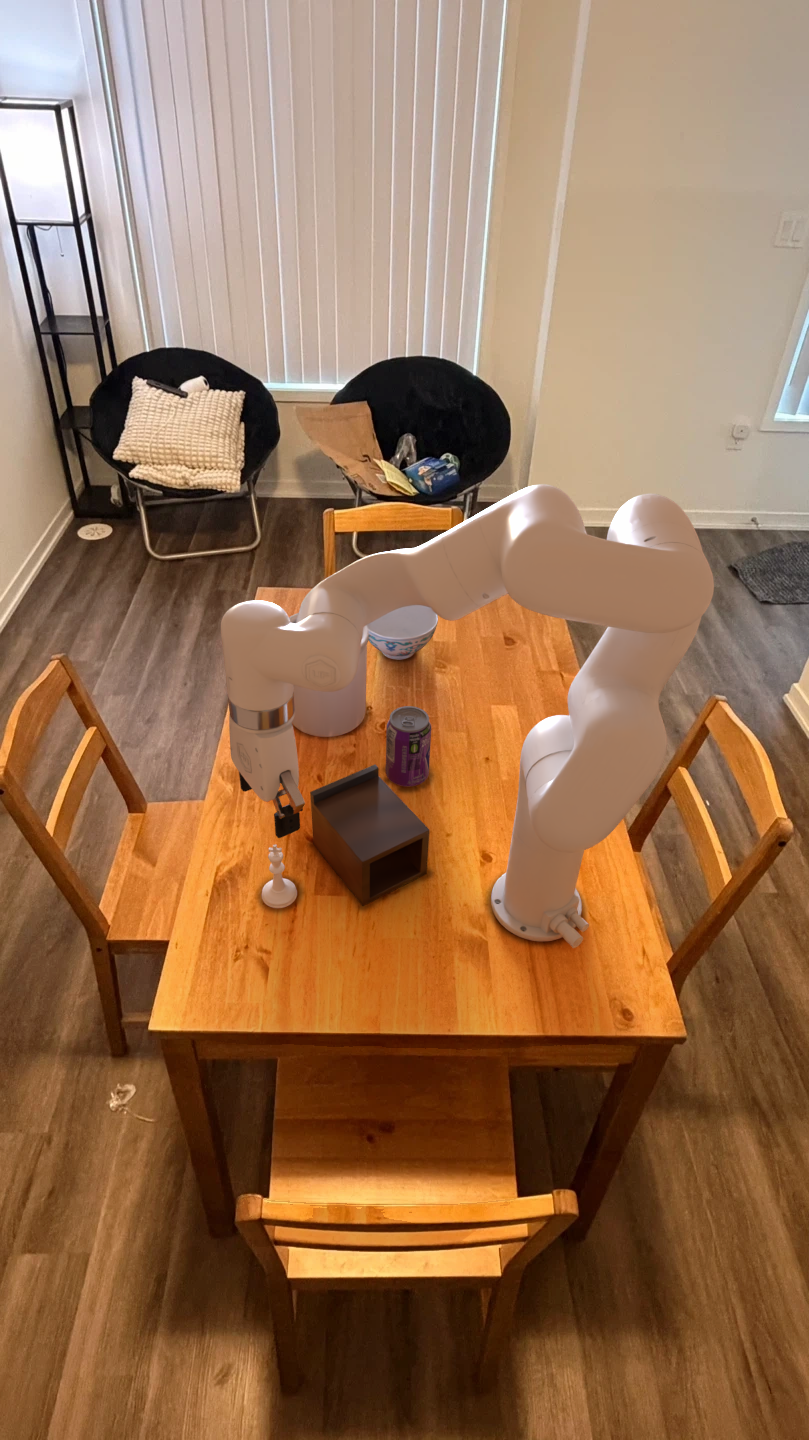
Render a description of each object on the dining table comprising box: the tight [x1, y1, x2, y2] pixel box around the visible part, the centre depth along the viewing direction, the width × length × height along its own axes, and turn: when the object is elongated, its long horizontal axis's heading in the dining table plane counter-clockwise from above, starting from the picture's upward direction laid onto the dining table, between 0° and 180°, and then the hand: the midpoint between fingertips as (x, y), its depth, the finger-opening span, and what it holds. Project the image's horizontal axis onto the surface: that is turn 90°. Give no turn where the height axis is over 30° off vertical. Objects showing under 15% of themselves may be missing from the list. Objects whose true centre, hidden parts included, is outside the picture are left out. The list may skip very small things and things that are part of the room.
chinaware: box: [367, 605, 439, 660], centre depth 166 cm, size 15×15×8 cm
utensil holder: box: [288, 612, 369, 738], centre depth 147 cm, size 15×15×18 cm
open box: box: [309, 764, 430, 907], centre depth 122 cm, size 14×11×11 cm
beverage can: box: [385, 705, 432, 787], centre depth 136 cm, size 7×7×12 cm
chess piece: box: [261, 843, 298, 909], centre depth 117 cm, size 5×5×10 cm
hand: (269, 809), depth 109 cm, fingers open, 9 cm apart
